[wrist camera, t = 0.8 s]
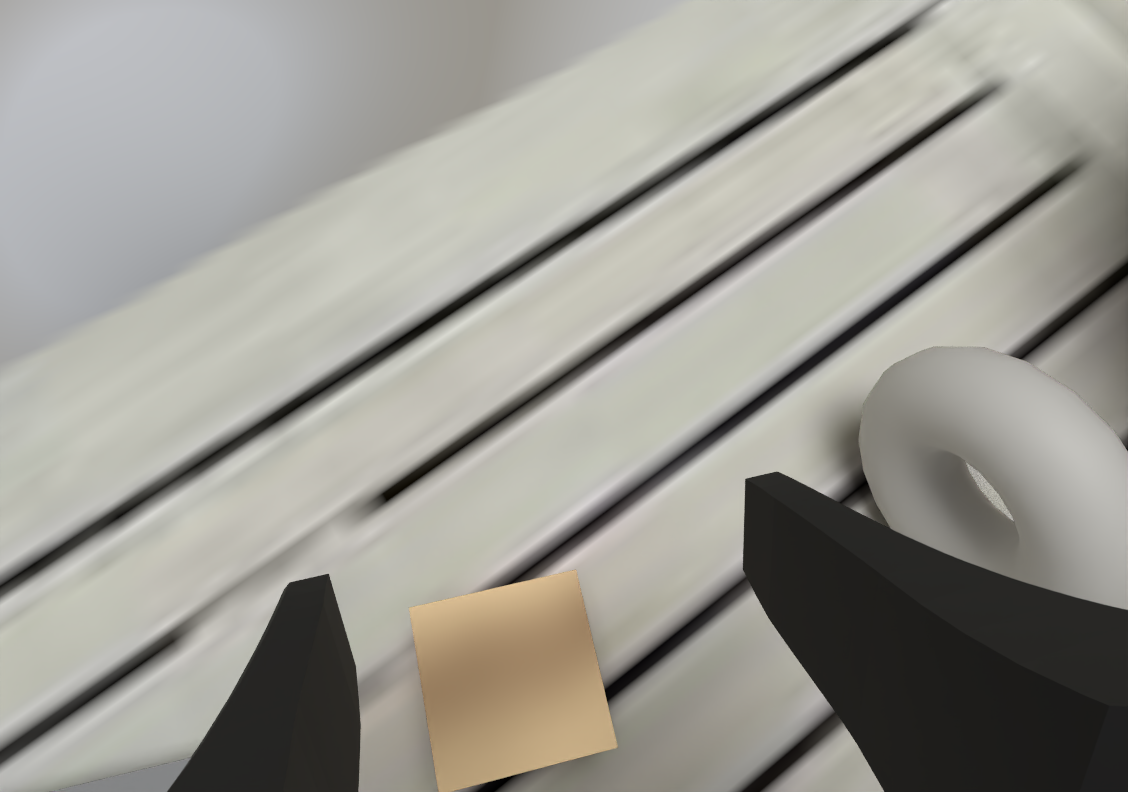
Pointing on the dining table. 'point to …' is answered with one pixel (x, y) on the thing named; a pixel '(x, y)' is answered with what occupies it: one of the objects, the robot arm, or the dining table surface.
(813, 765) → the dining table surface
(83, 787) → the slate block
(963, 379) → the donut
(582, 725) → the oak cube
